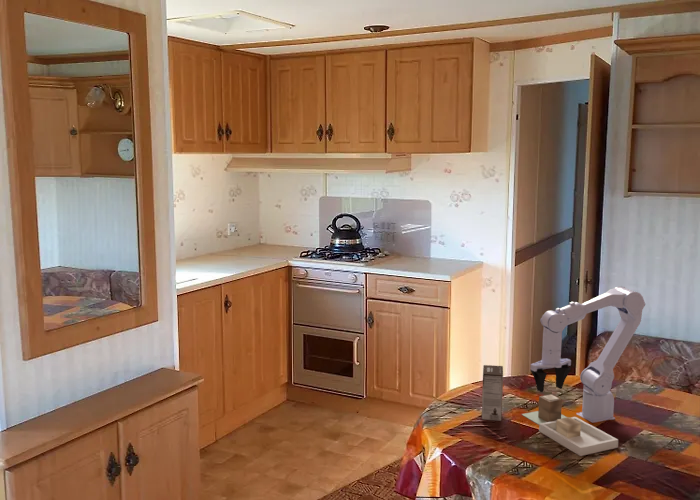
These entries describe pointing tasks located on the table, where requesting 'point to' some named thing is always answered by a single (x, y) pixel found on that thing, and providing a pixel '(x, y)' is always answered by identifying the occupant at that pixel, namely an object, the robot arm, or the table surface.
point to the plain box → (568, 427)
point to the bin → (581, 438)
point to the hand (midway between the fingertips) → (549, 389)
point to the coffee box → (492, 392)
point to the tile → (534, 417)
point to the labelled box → (549, 408)
